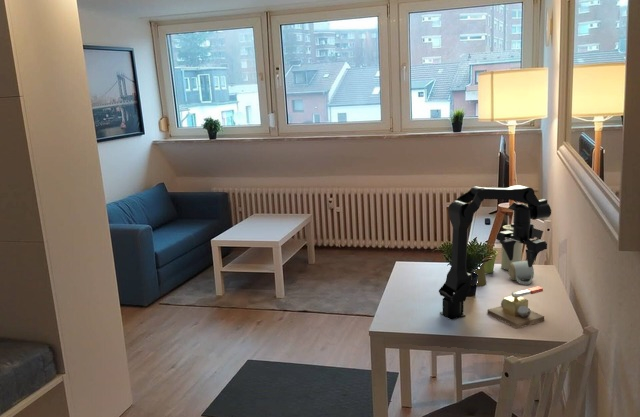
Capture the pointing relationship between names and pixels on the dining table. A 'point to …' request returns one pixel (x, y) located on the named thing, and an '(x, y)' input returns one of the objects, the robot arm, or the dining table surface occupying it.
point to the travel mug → (516, 253)
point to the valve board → (515, 321)
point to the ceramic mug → (521, 272)
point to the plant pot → (490, 264)
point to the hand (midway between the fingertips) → (520, 263)
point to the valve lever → (527, 292)
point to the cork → (481, 275)
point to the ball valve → (516, 306)
